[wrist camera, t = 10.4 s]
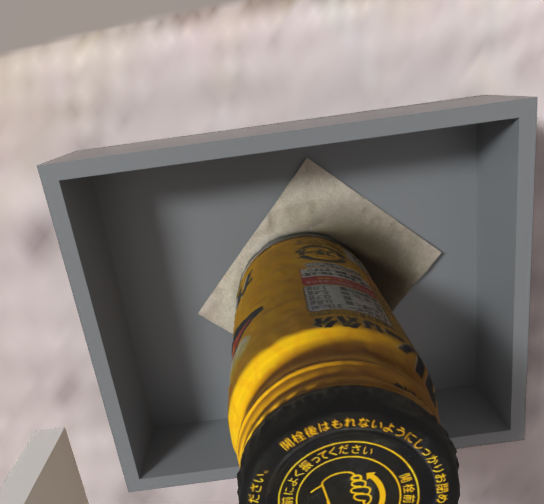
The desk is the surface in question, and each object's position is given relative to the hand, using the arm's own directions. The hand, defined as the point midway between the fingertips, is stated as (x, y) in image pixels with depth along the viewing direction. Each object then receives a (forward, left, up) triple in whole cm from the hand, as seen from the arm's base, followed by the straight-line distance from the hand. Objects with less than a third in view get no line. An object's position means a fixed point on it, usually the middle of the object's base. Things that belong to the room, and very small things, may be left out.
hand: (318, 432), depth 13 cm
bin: (0, 0, -10) cm, 10 cm away
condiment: (0, -1, -10) cm, 10 cm away
